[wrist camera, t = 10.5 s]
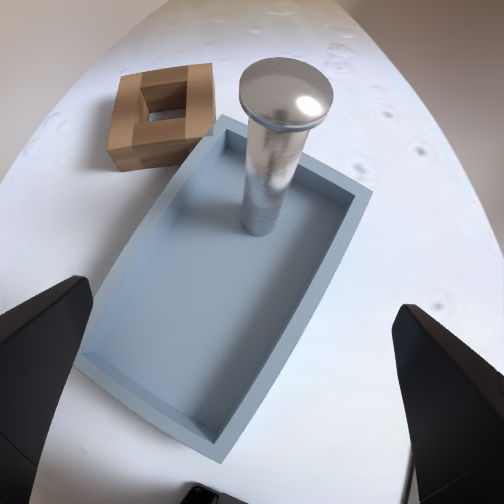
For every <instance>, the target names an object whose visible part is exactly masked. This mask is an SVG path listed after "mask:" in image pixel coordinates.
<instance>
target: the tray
mask: <svg viewBox="0 0 504 504" xmlns="http://www.w3.org/2000/svg"><path fill="white" fill-rule="evenodd" d="M210 130H211V131H210ZM210 130H209V131H208V132H207V133H206V134H205V135H206V136H207V137H205V136H204V137H203V138H202V139H201V141H200V142H199V143H198V144H197V146H196V147H195V148H194V150H193V151H192V152H191V153H190V155H189V156H188V157H187V159H186V160H185V161H184V163H183V164H182V165H181V166H180V168H179V169H178V170H177V172H176V173H175V175H174V176H173V177H172V179H171V180H170V181H169V183H168V184H167V185H166V187H165V188H164V190H163V191H162V192H161V194H160V195H159V197H158V198H157V199H156V201H155V202H154V204H153V205H152V207H151V208H150V209H149V211H148V212H147V214H146V215H145V217H144V218H143V220H142V221H141V223H140V224H139V226H138V227H137V229H136V230H135V232H134V233H133V235H132V236H131V238H130V239H129V241H128V242H127V244H126V245H125V247H124V249H123V250H122V252H121V253H120V255H119V256H118V258H117V260H116V261H115V263H114V264H113V266H112V268H111V269H110V271H109V273H108V274H107V276H106V278H105V279H104V281H103V283H102V284H101V286H100V288H99V289H98V291H97V293H96V295H95V296H94V298H93V308H92V311H91V314H90V317H89V320H88V323H87V326H86V329H85V332H84V336H83V339H82V342H81V345H80V348H79V351H78V353H77V356H76V358H75V361H74V363H73V366H74V367H76V368H77V369H78V370H79V371H80V372H81V373H83V374H84V375H85V376H86V377H88V378H89V379H90V380H91V381H92V382H94V383H95V384H96V385H97V386H99V387H100V388H101V389H103V390H104V391H105V392H106V393H108V394H109V395H110V396H112V397H113V398H114V399H116V400H117V401H119V402H120V403H121V404H123V405H124V406H125V407H127V408H128V409H130V410H131V411H133V412H134V413H135V414H137V415H138V416H140V417H141V418H143V419H144V420H146V421H147V422H149V423H150V424H152V425H153V426H155V427H156V428H158V429H160V430H161V431H163V432H164V433H166V434H168V435H169V436H171V437H173V438H174V439H176V440H178V441H179V442H181V443H183V444H184V445H186V446H188V447H190V448H191V449H193V450H195V451H197V452H199V453H200V454H202V455H204V456H206V457H208V458H210V459H212V460H213V461H215V462H217V463H219V464H221V463H222V462H223V460H224V459H225V458H226V456H227V455H228V453H229V452H230V450H231V449H232V447H233V446H234V444H235V443H236V441H237V440H238V438H239V437H240V435H241V434H242V432H243V431H244V429H245V428H246V426H247V425H248V423H249V422H250V420H251V419H252V417H253V416H254V414H255V412H256V411H257V409H258V408H259V406H260V405H261V403H262V401H263V400H264V398H265V397H266V395H267V393H268V392H269V390H270V388H271V387H272V385H273V384H274V382H275V380H276V379H277V377H278V375H279V374H280V372H281V370H282V369H283V367H284V365H285V363H286V362H287V360H288V358H289V357H290V355H291V353H292V351H293V350H294V348H295V346H296V344H297V343H298V341H299V339H300V337H301V336H302V334H303V332H304V330H305V328H306V327H307V325H308V323H309V321H310V319H311V318H312V316H313V314H314V312H315V310H316V308H317V306H318V305H319V303H320V301H321V299H322V297H323V295H324V293H325V291H326V289H327V287H328V286H329V284H330V282H331V280H332V278H333V276H334V274H335V272H336V270H337V268H338V266H339V264H340V262H341V260H342V258H343V256H344V254H345V252H346V250H347V248H348V246H349V243H350V241H351V239H352V237H353V235H354V233H355V231H356V229H357V227H358V224H359V222H360V220H361V218H362V216H363V214H364V211H365V209H366V207H367V205H368V203H369V200H370V198H371V196H372V194H373V191H371V190H369V189H368V188H366V187H364V186H363V185H361V184H359V183H358V182H356V181H354V180H352V179H351V178H349V177H347V176H345V175H344V174H342V173H340V172H338V171H336V170H335V169H333V168H331V167H329V166H327V165H326V164H324V163H322V162H320V161H318V160H316V159H314V158H313V157H311V156H309V155H307V154H305V153H303V152H302V153H301V156H300V159H299V161H298V164H297V167H296V170H295V172H294V175H293V178H292V181H291V183H290V186H289V189H288V192H287V194H286V197H285V200H284V203H283V205H282V208H281V211H280V214H279V216H278V219H277V222H276V224H275V227H274V229H273V230H272V232H271V233H269V234H268V235H265V236H262V237H257V236H253V235H250V234H249V233H247V232H246V231H245V230H244V228H243V226H242V223H241V216H242V201H243V187H244V174H245V160H246V147H247V134H248V125H245V124H243V123H241V122H239V121H237V120H234V119H232V118H230V117H227V116H225V115H223V114H222V115H221V116H220V117H219V119H218V120H217V121H216V122H215V123H214V125H213V128H212V127H211V129H210ZM212 131H213V132H212ZM208 133H209V134H210V135H209V134H208ZM211 135H212V136H211Z"/></svg>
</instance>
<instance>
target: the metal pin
mask: <svg viewBox="0 0 504 504" xmlns="http://www.w3.org/2000/svg"><path fill="white" fill-rule="evenodd" d="M239 100H240V104H241V106H242V108H243V110H244V111H245V113H246V114H247V115H248V116H249V121H248V134H247V147H246V160H245V174H244V187H243V201H242V216H241V223H242V226H243V228H244V230H245V231H246V232H247V233H249V234H250V235H253V236H257V237H262V236H265V235H268V234H269V233H271V232H272V230H273V229H274V227H275V224H276V222H277V219H278V216H279V214H280V211H281V208H282V205H283V203H284V200H285V197H286V194H287V192H288V189H289V186H290V183H291V181H292V178H293V175H294V172H295V170H296V167H297V164H298V161H299V159H300V156H301V153H302V150H303V147H304V145H305V142H306V139H307V136H308V134H309V131H310V129H312V128H315V127H316V126H318V125H319V124H321V123H322V122H323V121H324V119H325V118H326V116H327V114H328V112H329V109H330V107H331V104H332V102H333V89H332V86H331V84H330V82H329V81H328V79H327V78H326V77H325V76H324V75H323V74H322V73H321V72H320V71H319V70H317V69H316V68H314V67H313V66H311V65H309V64H307V63H305V62H302V61H299V60H295V59H291V58H282V57H275V58H267V59H263V60H260V61H257V62H255V63H253V64H252V65H250V66H249V67H248V68H247V69H246V70H245V71H244V72H243V74H242V76H241V78H240V84H239Z"/></svg>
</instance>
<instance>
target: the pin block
mask: <svg viewBox="0 0 504 504" xmlns="http://www.w3.org/2000/svg"><path fill="white" fill-rule="evenodd" d="M181 108H186V117H183V118H175V119H167V120H160V121H153V122H148V121H149V113H152V112H158V111H165V110H173V109H181ZM215 122H216V116H215V87H214V77H213V68H212V63H206V64H196V65H187V66H179V67H172V68H165V69H159V70H153V71H147V72H141V73H136V74H131V75H126V76H121V79H120V83H119V88H118V92H117V96H116V101H115V106H114V111H113V116H112V121H111V126H110V132H109V137H108V143H107V152H108V153H109V155H110V156H111V158H112V159H113V160H114V162H115V163H116V165H117V166H118V168H119V169H120V171H121V172H125V171H132V170H139V169H147V168H154V167H162V166H171V165H180V164H183V163H184V161H185V160H186V159H187V157H188V156H189V155H190V153H191V152H192V151H193V150H194V148H195V147H196V146H197V144H198V143H199V142H200V141H201V139H202V138H203V137H204V136H205V137H207V136H206V135H205V134H206V133H207V132H208V131H209V130H210V129H211V127H212V128H213V125H214V123H215ZM210 131H211V130H210ZM212 132H213V131H212ZM208 134H209V133H208ZM209 135H210V134H209ZM211 136H212V135H211Z"/></svg>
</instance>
